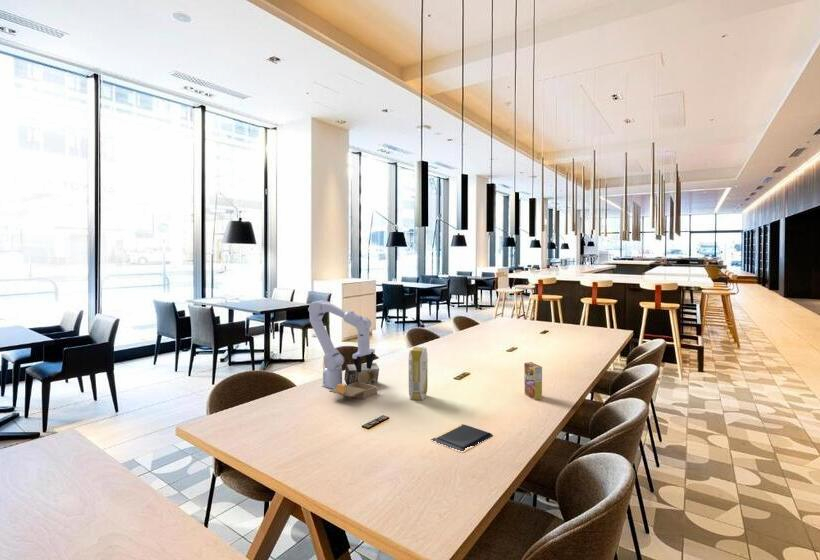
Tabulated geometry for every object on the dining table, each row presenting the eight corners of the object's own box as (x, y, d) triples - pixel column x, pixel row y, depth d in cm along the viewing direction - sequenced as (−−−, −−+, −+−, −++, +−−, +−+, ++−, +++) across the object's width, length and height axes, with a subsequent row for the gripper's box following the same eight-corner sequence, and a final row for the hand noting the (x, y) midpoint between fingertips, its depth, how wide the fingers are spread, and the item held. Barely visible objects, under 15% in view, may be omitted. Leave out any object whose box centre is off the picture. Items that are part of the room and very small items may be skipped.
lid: (329, 391, 203) (328, 383, 202) (344, 385, 211) (344, 377, 211) (351, 396, 195) (351, 388, 195) (366, 390, 204) (366, 382, 203)
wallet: (461, 449, 149) (428, 436, 159) (461, 455, 149) (428, 441, 159) (495, 432, 163) (463, 421, 173) (495, 437, 163) (463, 425, 174)
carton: (342, 394, 210) (342, 386, 210) (356, 388, 218) (356, 381, 218) (363, 399, 203) (363, 391, 202) (377, 393, 211) (377, 386, 211)
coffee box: (377, 384, 226) (346, 386, 220) (374, 377, 232) (344, 379, 226) (379, 368, 223) (348, 371, 217) (376, 361, 229) (345, 364, 223)
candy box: (523, 394, 209) (523, 362, 208) (531, 393, 210) (531, 361, 209) (534, 400, 200) (534, 367, 199) (542, 399, 202) (542, 366, 201)
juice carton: (424, 401, 200) (424, 348, 198) (407, 400, 201) (407, 348, 200) (428, 394, 209) (428, 344, 207) (411, 393, 210) (411, 343, 209)
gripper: (360, 346, 208) (360, 375, 208) (379, 341, 219) (379, 368, 220) (348, 344, 212) (349, 372, 212) (368, 339, 223) (368, 366, 224)
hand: (364, 370), depth 217 cm, fingers open, 7 cm apart
